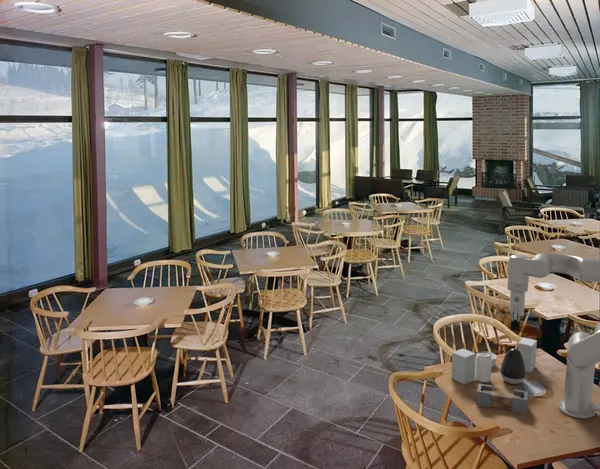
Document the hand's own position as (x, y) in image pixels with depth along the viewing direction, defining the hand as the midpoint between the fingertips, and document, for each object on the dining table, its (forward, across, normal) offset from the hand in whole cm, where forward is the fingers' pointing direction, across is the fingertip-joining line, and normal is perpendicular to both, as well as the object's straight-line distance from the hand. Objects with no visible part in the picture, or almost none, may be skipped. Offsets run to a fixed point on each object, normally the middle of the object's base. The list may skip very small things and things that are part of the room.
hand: (514, 329), depth 211 cm
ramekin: (+30, +28, +12) cm, 42 cm away
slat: (+29, -9, +3) cm, 31 cm away
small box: (+29, +30, -5) cm, 42 cm away
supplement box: (+29, +8, +20) cm, 36 cm away
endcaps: (+29, -9, +3) cm, 31 cm away
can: (+29, +11, +12) cm, 34 cm away
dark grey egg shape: (+29, +14, 0) cm, 32 cm away
